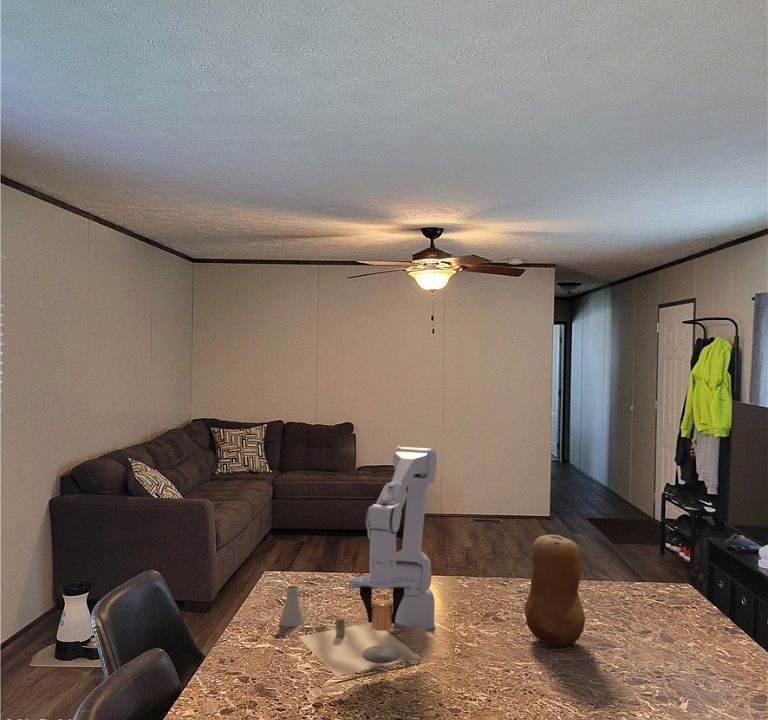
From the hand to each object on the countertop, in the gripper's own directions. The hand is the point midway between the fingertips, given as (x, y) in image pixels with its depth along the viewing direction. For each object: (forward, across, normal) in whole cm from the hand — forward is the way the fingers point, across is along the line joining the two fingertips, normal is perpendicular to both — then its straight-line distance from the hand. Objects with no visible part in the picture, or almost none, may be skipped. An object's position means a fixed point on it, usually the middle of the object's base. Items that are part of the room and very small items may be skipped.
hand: (381, 621), depth 156 cm
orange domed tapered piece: (+1, 0, 0) cm, 1 cm away
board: (+9, -6, +4) cm, 11 cm away
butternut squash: (+9, +40, +13) cm, 43 cm away
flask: (+9, -22, +17) cm, 30 cm away
